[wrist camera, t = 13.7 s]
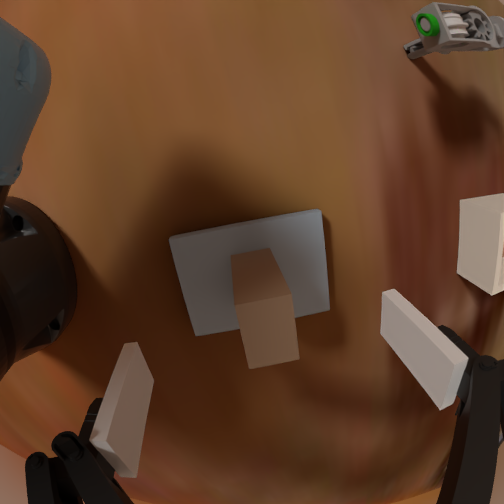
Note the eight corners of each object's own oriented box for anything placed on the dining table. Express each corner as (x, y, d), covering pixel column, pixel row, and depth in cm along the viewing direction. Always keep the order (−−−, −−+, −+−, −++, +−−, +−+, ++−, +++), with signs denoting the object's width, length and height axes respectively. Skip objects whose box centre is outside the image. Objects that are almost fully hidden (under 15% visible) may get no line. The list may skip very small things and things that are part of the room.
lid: (196, 325, 27) (188, 402, 18) (172, 233, 24) (143, 283, 15) (323, 300, 27) (365, 366, 18) (314, 206, 25) (366, 240, 15)
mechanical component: (451, 63, 21) (523, 47, 12) (370, 72, 21) (442, 42, 12) (441, 36, 20) (509, 13, 11) (358, 41, 20) (423, -1, 11)
